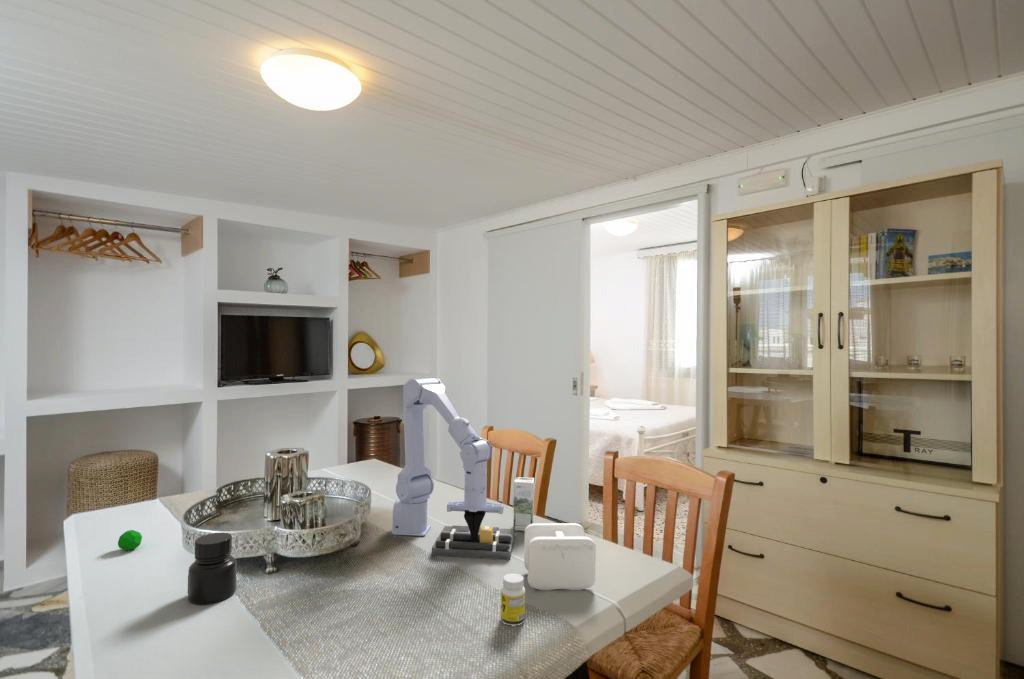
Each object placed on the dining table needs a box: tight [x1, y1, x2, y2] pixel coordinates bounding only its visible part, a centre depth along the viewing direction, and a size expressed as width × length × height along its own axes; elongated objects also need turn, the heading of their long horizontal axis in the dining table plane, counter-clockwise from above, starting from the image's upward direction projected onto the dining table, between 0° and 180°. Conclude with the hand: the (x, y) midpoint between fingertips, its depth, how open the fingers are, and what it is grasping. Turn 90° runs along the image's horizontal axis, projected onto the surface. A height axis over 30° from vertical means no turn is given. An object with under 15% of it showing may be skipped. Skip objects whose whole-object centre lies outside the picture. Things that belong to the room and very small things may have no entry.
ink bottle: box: [187, 532, 238, 605], centre depth 111 cm, size 10×9×12 cm
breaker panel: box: [431, 525, 516, 561], centre depth 140 cm, size 20×16×3 cm
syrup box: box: [512, 476, 535, 533], centre depth 153 cm, size 6×6×14 cm
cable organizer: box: [523, 522, 597, 591], centre depth 120 cm, size 15×11×12 cm
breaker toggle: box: [480, 525, 493, 543], centre depth 135 cm, size 3×3×4 cm
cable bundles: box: [435, 529, 512, 552], centre depth 136 cm, size 19×10×2 cm, turn 85°
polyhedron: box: [117, 529, 143, 552], centre depth 134 cm, size 5×5×5 cm
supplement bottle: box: [500, 573, 526, 625], centre depth 102 cm, size 5×5×8 cm
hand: (474, 539), depth 135 cm, fingers closed
